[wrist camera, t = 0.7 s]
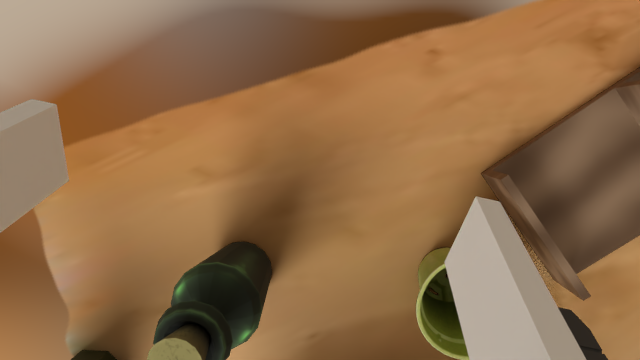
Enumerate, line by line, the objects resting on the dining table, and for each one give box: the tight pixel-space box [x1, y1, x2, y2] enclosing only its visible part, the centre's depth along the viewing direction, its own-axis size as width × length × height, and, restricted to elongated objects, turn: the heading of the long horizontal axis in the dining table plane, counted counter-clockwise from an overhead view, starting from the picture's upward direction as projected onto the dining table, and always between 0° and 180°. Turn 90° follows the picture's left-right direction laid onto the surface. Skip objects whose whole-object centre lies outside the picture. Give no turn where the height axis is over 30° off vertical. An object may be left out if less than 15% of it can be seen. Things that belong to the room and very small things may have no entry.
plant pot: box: [416, 248, 470, 360], centre depth 38 cm, size 9×9×9 cm
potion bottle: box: [147, 242, 272, 360], centre depth 35 cm, size 8×8×18 cm
